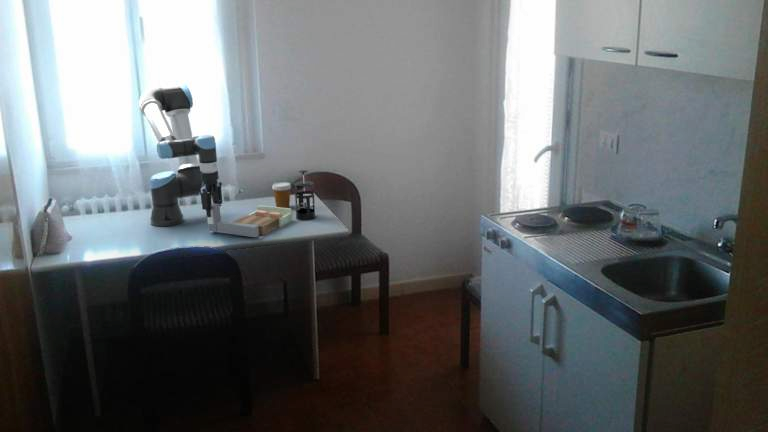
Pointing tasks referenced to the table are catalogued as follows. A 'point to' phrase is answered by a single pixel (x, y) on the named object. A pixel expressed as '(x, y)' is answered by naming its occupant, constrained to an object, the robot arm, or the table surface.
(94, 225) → the table surface
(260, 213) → the tile
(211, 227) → the scraper
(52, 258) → the table surface
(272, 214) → the tile
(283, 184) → the disposable coffee cup
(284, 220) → the tray
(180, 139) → the robot arm
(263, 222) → the brown wooden board
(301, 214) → the french press
